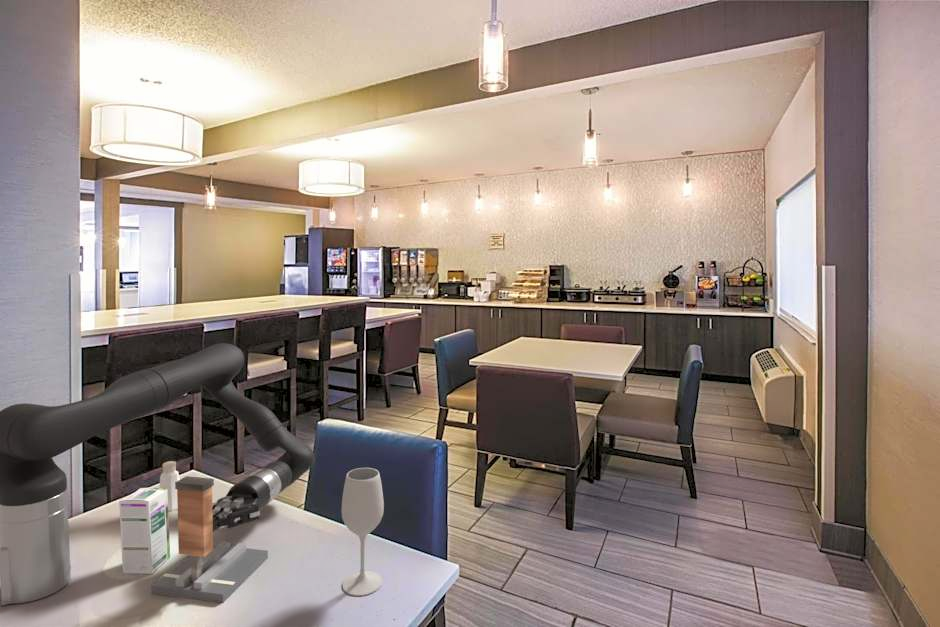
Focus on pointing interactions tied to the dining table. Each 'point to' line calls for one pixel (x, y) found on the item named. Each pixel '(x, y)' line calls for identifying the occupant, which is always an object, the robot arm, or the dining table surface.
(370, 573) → the wineglass
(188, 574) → the grey slotted base
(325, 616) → the dining table surface
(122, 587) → the dining table surface
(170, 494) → the salt shaker
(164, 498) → the syrup box
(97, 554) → the dining table surface
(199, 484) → the lever
